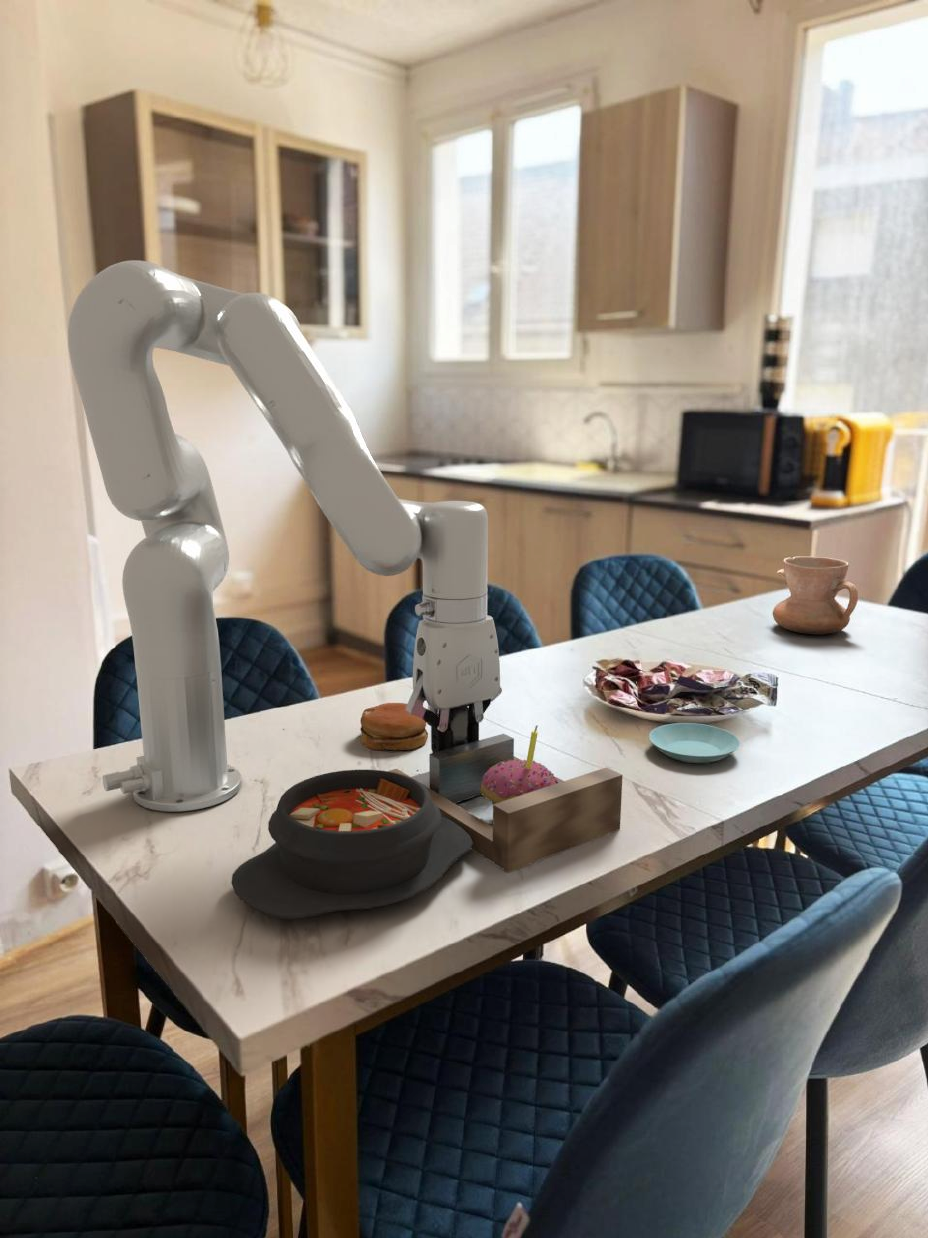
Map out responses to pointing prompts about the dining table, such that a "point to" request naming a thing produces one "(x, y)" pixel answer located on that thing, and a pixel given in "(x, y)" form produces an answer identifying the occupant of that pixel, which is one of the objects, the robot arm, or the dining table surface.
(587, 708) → the dining table surface
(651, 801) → the dining table surface
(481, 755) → the ram
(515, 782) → the cupcake
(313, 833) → the casserole
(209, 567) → the robot arm
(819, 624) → the ceramic jug
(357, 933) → the dining table surface
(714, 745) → the saucer
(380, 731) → the burger
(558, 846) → the press bed
